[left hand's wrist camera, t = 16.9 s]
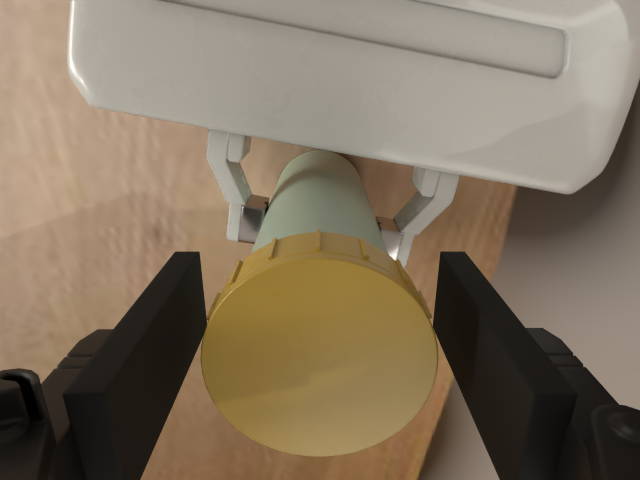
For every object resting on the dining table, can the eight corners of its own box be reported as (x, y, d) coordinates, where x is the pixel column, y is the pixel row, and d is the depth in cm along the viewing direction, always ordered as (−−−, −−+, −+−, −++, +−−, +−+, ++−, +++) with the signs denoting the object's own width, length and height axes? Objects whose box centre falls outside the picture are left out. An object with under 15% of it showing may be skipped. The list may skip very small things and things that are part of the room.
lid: (246, 424, 13) (236, 473, 12) (188, 253, 11) (165, 283, 10) (435, 392, 13) (451, 439, 11) (408, 209, 11) (424, 234, 9)
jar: (283, 143, 25) (230, 247, 10) (370, 157, 25) (440, 279, 10) (272, 226, 26) (213, 416, 12) (353, 238, 27) (393, 439, 12)
